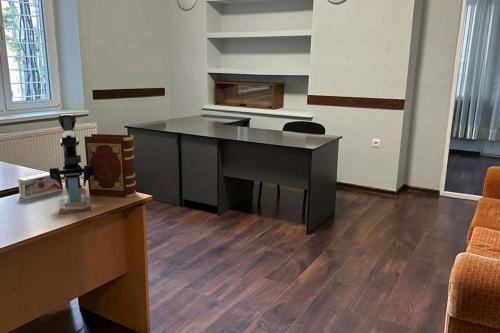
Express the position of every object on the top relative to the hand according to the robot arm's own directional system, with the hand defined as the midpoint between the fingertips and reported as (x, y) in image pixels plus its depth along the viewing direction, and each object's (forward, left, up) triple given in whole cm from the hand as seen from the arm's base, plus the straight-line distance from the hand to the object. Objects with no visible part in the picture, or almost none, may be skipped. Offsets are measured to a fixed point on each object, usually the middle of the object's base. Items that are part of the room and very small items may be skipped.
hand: (73, 187), depth 190 cm
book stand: (+1, +1, -9) cm, 9 cm away
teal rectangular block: (+1, +1, -8) cm, 8 cm away
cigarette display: (+2, -30, -9) cm, 32 cm away
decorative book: (-21, -3, -9) cm, 23 cm away
